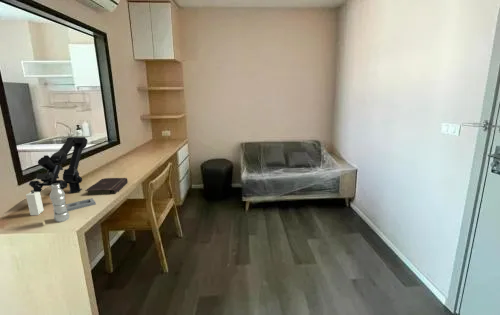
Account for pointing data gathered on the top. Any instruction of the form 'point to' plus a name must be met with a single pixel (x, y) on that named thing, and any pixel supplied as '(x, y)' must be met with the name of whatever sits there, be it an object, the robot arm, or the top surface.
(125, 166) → the top surface
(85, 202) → the power strip
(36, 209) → the charger
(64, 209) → the plastic bottle
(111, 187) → the diary
